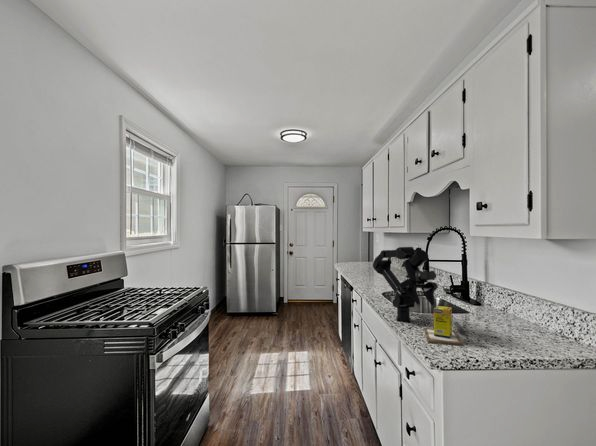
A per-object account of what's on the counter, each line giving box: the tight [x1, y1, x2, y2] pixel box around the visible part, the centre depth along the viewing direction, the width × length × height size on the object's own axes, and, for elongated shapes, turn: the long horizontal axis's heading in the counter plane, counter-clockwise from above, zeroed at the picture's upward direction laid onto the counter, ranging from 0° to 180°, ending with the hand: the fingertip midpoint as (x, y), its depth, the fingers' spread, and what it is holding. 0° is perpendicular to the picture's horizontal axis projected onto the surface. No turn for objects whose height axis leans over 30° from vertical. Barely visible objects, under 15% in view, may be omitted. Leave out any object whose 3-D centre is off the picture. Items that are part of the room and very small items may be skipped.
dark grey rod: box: [454, 321, 466, 335], centre depth 140 cm, size 13×2×2 cm
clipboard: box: [423, 326, 463, 346], centre depth 130 cm, size 16×12×2 cm
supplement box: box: [433, 305, 453, 338], centre depth 130 cm, size 6×6×11 cm
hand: (426, 304), depth 139 cm, fingers open, 9 cm apart
